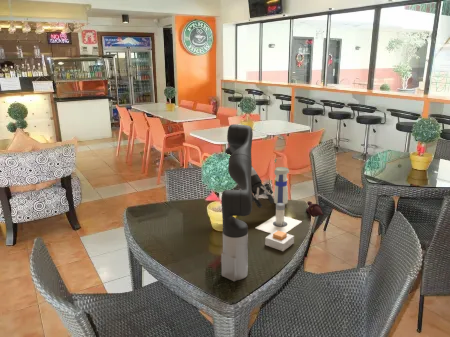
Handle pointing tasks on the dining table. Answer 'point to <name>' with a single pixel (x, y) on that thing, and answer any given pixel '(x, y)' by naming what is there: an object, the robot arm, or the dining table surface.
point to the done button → (280, 235)
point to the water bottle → (281, 185)
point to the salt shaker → (280, 214)
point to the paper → (271, 225)
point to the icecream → (314, 209)
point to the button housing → (279, 242)
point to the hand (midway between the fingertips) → (266, 204)
